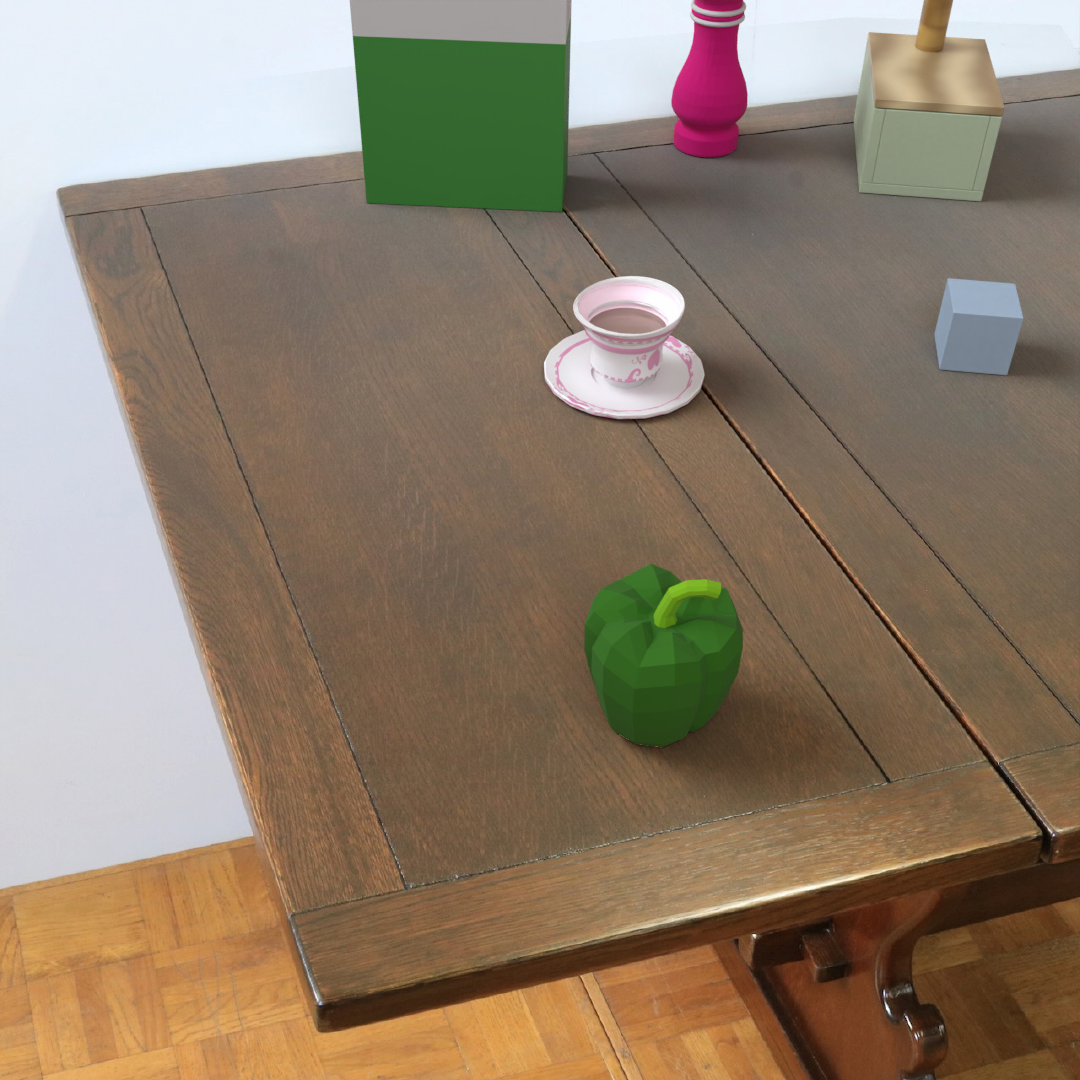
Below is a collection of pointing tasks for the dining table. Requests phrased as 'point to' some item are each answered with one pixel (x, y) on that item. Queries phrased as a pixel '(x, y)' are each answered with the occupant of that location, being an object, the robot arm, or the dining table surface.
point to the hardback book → (464, 101)
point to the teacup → (625, 352)
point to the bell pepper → (662, 653)
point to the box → (921, 149)
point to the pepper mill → (711, 82)
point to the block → (978, 326)
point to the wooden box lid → (933, 68)
